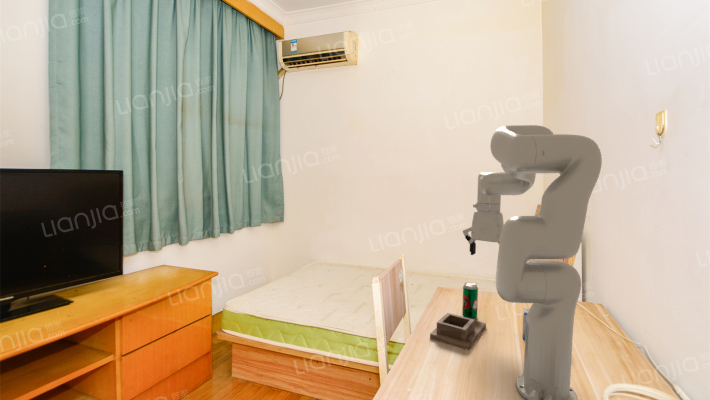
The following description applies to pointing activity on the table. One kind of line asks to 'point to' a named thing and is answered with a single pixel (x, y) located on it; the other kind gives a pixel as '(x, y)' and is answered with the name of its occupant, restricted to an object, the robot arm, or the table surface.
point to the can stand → (458, 330)
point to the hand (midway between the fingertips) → (486, 256)
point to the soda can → (470, 300)
